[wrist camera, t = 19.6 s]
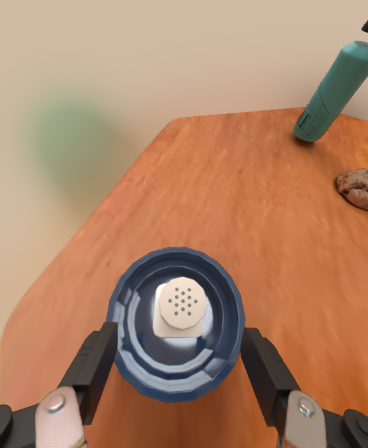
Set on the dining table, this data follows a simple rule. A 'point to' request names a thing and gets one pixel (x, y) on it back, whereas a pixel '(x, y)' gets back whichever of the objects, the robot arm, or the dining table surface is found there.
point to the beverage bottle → (334, 90)
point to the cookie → (354, 187)
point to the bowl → (176, 347)
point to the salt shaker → (179, 309)
